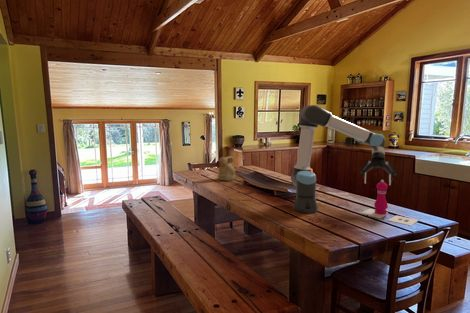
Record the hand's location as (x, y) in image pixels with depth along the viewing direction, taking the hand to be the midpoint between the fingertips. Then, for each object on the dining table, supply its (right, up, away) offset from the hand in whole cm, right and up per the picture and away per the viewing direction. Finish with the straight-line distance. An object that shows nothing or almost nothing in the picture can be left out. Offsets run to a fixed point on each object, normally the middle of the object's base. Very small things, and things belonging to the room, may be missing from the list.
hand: (377, 183), depth 191 cm
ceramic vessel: (-92, -5, +101) cm, 137 cm away
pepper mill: (0, -17, -3) cm, 18 cm away
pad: (-3, -18, -2) cm, 18 cm away
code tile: (+8, -19, -13) cm, 25 cm away
